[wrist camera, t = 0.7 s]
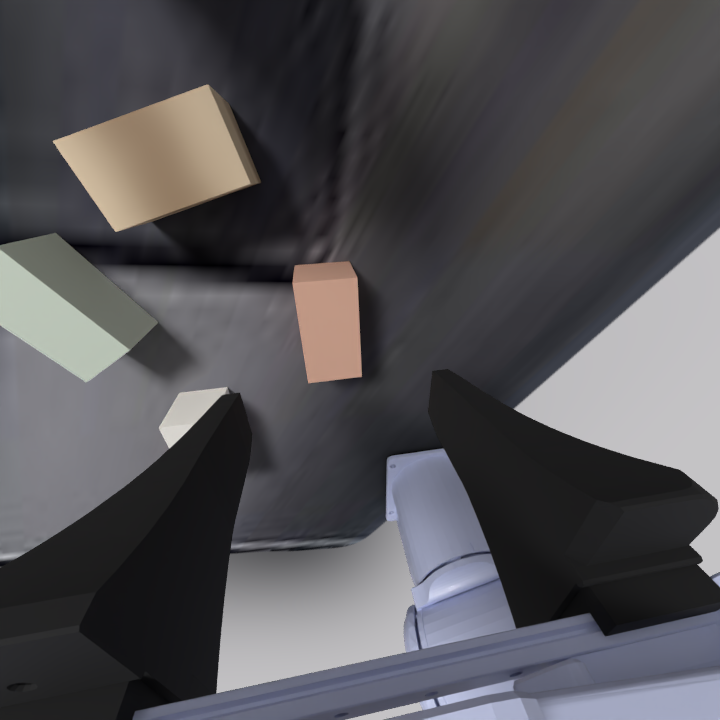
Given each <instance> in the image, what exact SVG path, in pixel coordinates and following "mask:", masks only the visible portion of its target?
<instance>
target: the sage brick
mask: <svg viewBox="0 0 720 720" xmlns="http://www.w3.org/2000/svg"><path fill="white" fill-rule="evenodd" d="M157 323H159V322H157V321H156V320H155V319H154V318H153V317H152V316H151V315H149V314H148V313H147V312H146V311H145V310H144V309H142V308H141V307H140V306H139V305H138V304H137V303H136V302H134V301H133V300H132V299H131V298H130V297H129V296H128V295H126V294H125V293H124V292H123V291H122V290H121V289H119V288H118V287H117V286H116V285H115V284H114V283H113V282H111V281H110V280H109V279H108V278H107V277H106V276H105V275H103V274H102V273H101V272H100V271H99V270H98V269H96V268H95V267H94V266H93V265H92V264H91V263H90V262H88V261H87V260H86V259H85V258H84V257H83V256H82V255H80V254H79V253H78V252H77V251H76V250H75V249H73V248H72V247H71V246H70V245H69V244H68V243H67V242H65V241H64V240H63V239H62V238H61V237H60V236H58V235H57V234H56V233H54V234H49V235H45V236H40V237H36V238H31V239H27V240H22V241H18V242H13V243H9V244H4V245H0V326H2V327H3V328H5V329H7V330H8V331H10V332H11V333H13V334H14V335H16V336H17V337H19V338H20V339H22V340H23V341H25V342H26V343H28V344H29V345H31V346H32V347H34V348H35V349H37V350H38V351H40V352H41V353H43V354H44V355H46V356H47V357H49V358H50V359H52V360H53V361H55V362H56V363H58V364H59V365H61V366H62V367H64V368H65V369H67V370H68V371H70V372H71V373H73V374H74V375H76V376H77V377H79V378H80V379H82V380H83V381H85V382H86V383H87V382H88V381H89V380H91V379H92V378H93V377H95V376H96V375H97V374H99V373H100V372H101V371H103V370H104V369H105V368H107V367H108V366H110V365H111V364H112V363H114V362H115V361H116V360H118V359H119V358H120V357H122V356H123V355H124V354H126V353H127V352H128V351H130V350H131V349H132V348H133V347H134V346H135V345H136V344H137V343H138V342H139V341H140V340H141V339H142V338H143V337H144V336H145V335H146V334H147V333H148V332H149V331H150V330H151V329H152V328H153V327H154V326H155V325H156V324H157Z"/></svg>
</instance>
